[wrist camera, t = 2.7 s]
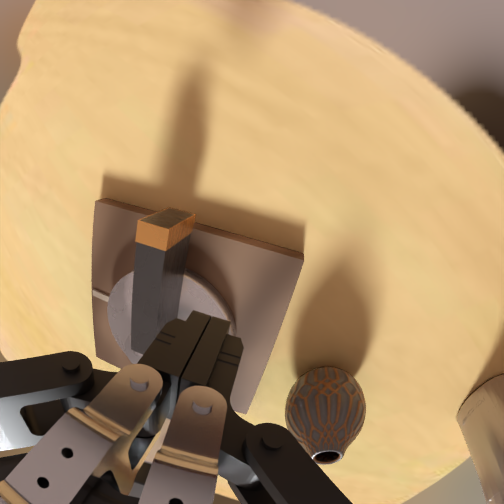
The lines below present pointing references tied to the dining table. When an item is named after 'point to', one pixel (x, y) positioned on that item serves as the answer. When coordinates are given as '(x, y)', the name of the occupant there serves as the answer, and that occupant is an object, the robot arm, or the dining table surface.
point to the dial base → (215, 272)
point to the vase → (325, 413)
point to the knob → (160, 285)
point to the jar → (148, 463)
